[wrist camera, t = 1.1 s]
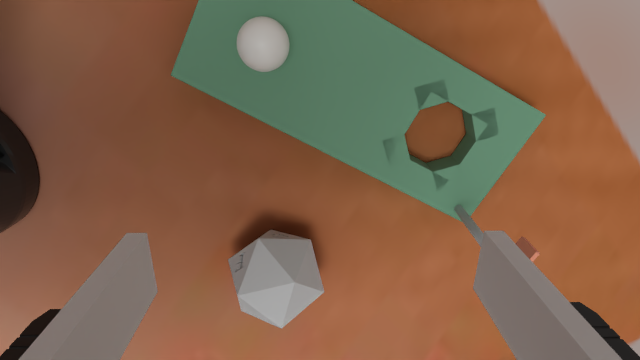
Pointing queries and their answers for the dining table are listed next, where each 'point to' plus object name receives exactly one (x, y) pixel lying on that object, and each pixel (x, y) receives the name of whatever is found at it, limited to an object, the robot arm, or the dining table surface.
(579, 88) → the dining table surface
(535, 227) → the dining table surface
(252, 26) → the ball
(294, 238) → the die
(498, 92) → the mini golf green
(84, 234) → the dining table surface
